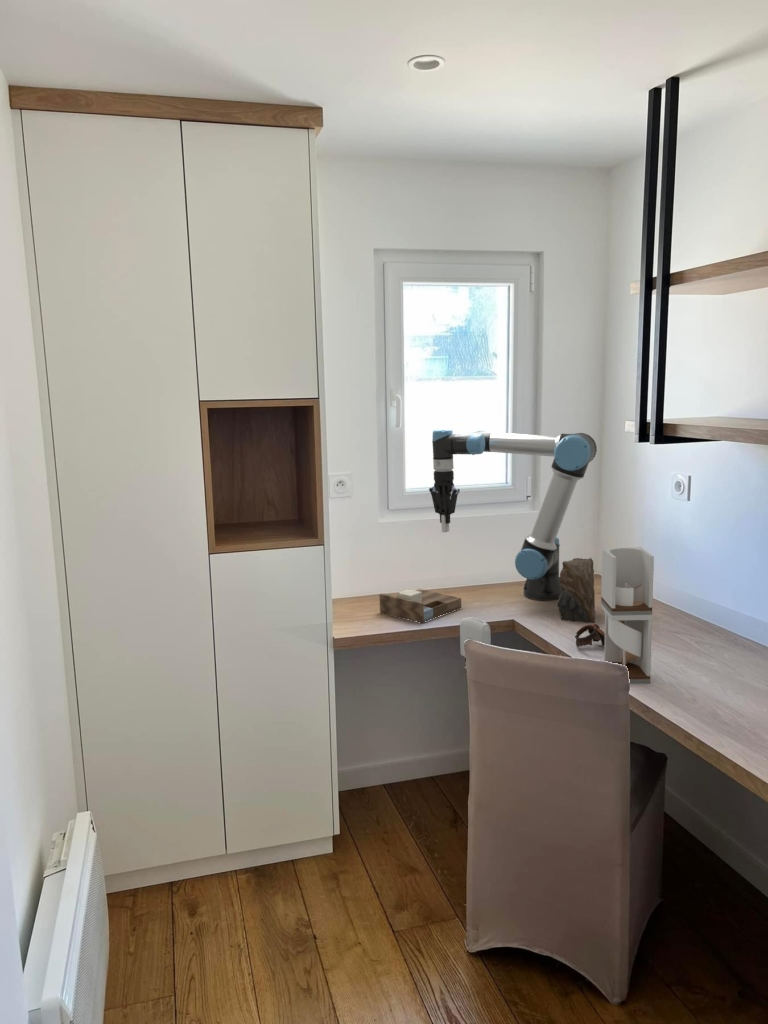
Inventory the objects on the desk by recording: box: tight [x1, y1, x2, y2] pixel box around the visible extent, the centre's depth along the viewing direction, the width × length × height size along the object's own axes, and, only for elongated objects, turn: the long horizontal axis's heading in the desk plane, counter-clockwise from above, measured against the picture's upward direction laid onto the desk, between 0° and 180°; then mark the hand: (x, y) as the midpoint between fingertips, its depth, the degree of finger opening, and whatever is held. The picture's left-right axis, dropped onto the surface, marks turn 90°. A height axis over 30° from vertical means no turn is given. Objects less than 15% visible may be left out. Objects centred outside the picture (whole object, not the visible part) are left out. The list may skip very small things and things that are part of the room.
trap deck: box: [378, 588, 462, 624], centre depth 275 cm, size 20×22×7 cm
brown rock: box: [557, 557, 596, 624], centre depth 261 cm, size 13×13×20 cm
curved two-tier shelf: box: [600, 546, 655, 684], centre depth 207 cm, size 11×11×35 cm
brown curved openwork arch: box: [574, 623, 605, 648], centre depth 233 cm, size 12×10×8 cm
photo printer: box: [459, 616, 492, 658], centre depth 226 cm, size 10×4×12 cm, turn 39°
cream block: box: [397, 589, 422, 603], centre depth 271 cm, size 6×6×4 cm
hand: (445, 531), depth 289 cm, fingers closed
